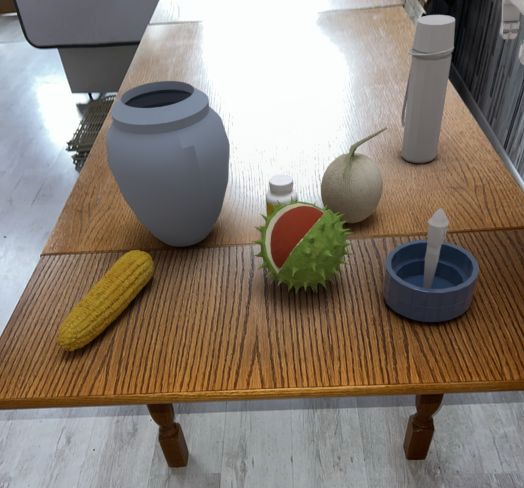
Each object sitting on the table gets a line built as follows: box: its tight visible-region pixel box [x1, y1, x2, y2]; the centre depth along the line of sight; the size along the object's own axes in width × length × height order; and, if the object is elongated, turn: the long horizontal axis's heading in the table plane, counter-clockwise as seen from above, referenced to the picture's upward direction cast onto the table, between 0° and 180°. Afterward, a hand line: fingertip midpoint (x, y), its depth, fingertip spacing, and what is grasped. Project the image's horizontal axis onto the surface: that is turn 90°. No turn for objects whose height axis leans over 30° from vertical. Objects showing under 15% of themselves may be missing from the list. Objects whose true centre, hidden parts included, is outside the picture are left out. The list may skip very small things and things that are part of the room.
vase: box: [105, 80, 231, 248], centre depth 90 cm, size 20×20×24 cm
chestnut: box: [251, 196, 354, 296], centre depth 81 cm, size 15×14×15 cm
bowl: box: [382, 239, 480, 323], centre depth 79 cm, size 13×13×6 cm
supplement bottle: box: [265, 173, 299, 217], centre depth 94 cm, size 5×5×10 cm
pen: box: [423, 207, 450, 289], centre depth 76 cm, size 2×3×14 cm
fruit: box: [320, 126, 388, 224], centre depth 93 cm, size 10×12×15 cm
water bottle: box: [400, 14, 456, 164], centre depth 106 cm, size 9×8×25 cm
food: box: [56, 249, 155, 352], centre depth 82 cm, size 21×6×6 cm, turn 158°
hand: (516, 49), depth 64 cm, fingers open, 8 cm apart
